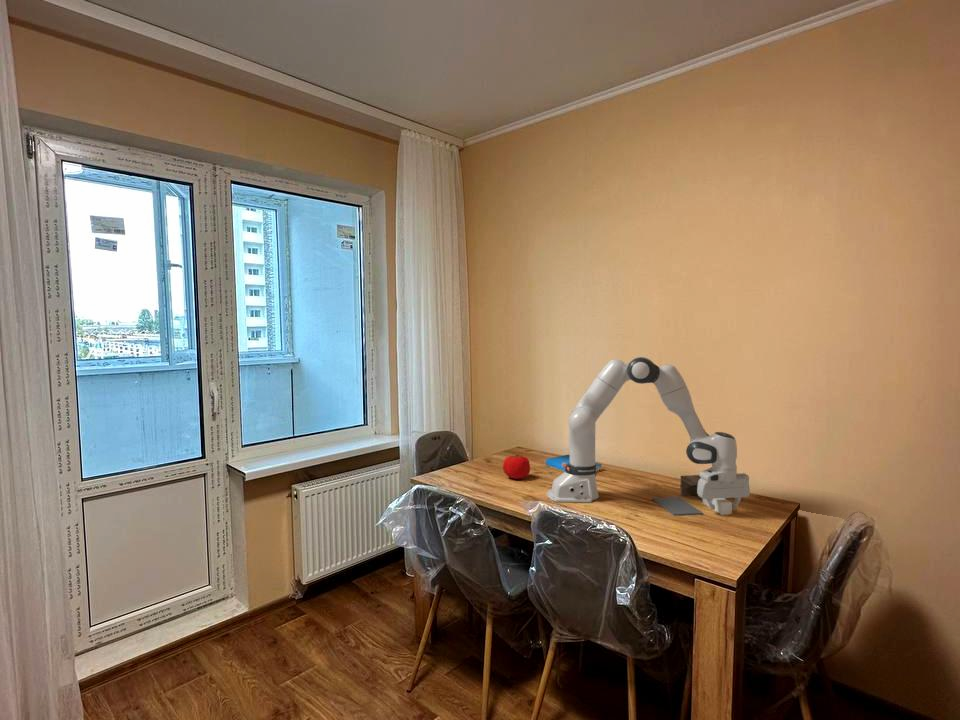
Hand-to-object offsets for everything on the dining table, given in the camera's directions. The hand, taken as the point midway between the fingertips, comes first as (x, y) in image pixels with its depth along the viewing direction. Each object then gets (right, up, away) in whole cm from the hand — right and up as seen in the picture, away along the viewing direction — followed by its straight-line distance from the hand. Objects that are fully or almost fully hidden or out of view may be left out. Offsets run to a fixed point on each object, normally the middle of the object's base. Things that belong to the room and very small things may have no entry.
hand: (723, 508), depth 196 cm
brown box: (-2, -1, +18) cm, 18 cm away
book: (-47, +1, +67) cm, 82 cm away
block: (0, -2, +5) cm, 5 cm away
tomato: (-78, 0, +49) cm, 92 cm away
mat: (-16, -1, +7) cm, 17 cm away
